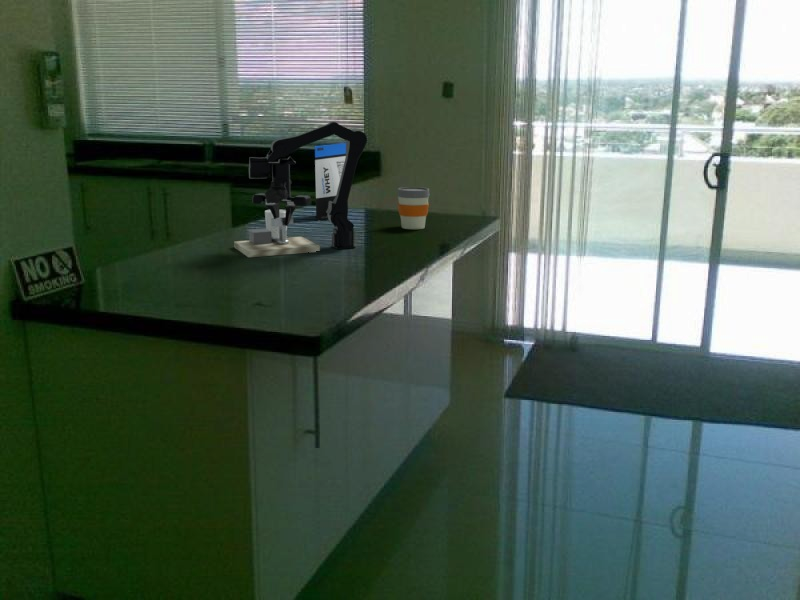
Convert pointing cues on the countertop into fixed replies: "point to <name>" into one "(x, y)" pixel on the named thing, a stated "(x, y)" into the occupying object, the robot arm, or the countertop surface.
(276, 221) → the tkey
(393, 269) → the countertop surface
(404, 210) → the reusable coffee cup
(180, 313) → the countertop surface
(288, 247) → the panel
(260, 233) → the cover
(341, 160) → the protein powder
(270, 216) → the white cup
